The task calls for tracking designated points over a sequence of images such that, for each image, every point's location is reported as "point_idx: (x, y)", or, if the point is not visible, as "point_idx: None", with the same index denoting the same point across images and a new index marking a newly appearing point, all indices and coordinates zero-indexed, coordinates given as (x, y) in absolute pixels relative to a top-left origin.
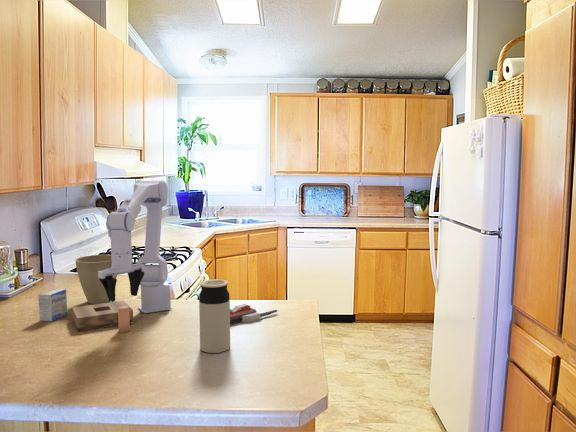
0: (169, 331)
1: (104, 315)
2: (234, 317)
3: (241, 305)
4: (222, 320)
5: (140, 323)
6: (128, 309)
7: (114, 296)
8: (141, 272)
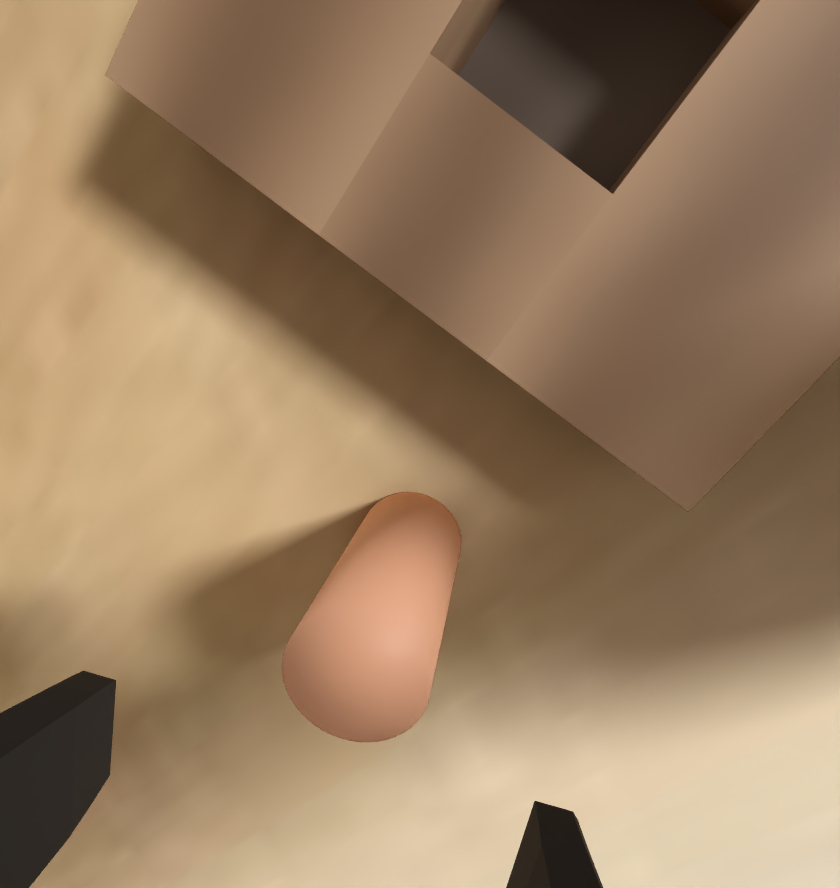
0: None
1: (391, 286)
2: None
3: None
4: None
5: (659, 540)
6: (372, 730)
7: (27, 864)
8: None
